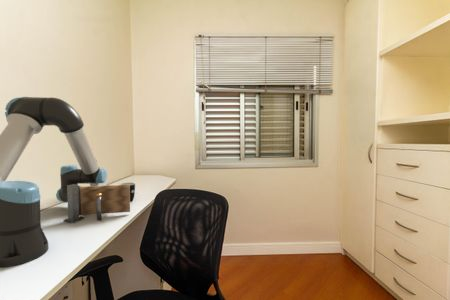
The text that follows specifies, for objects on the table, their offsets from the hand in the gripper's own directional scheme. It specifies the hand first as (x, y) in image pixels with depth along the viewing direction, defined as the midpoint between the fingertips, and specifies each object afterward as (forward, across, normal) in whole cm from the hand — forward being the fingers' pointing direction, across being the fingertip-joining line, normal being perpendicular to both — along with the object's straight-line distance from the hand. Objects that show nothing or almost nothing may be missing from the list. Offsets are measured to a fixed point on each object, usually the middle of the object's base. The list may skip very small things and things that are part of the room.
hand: (121, 201), depth 118 cm
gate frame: (-10, +12, -6) cm, 17 cm away
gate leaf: (-5, +5, -5) cm, 9 cm away
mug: (-14, -21, -7) cm, 26 cm away
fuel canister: (-38, -23, -7) cm, 45 cm away
